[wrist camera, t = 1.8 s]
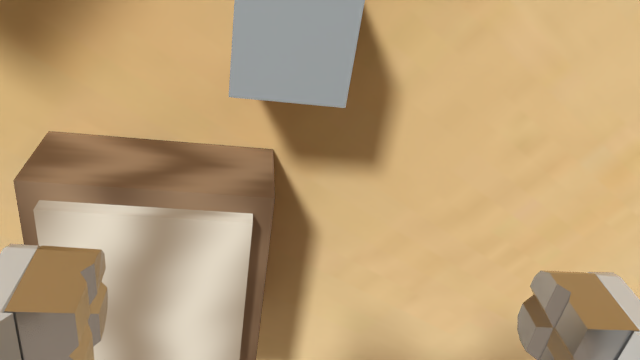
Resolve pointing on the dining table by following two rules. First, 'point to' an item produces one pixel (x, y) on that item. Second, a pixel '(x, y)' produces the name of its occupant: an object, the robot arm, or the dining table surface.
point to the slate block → (294, 50)
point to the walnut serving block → (160, 237)
